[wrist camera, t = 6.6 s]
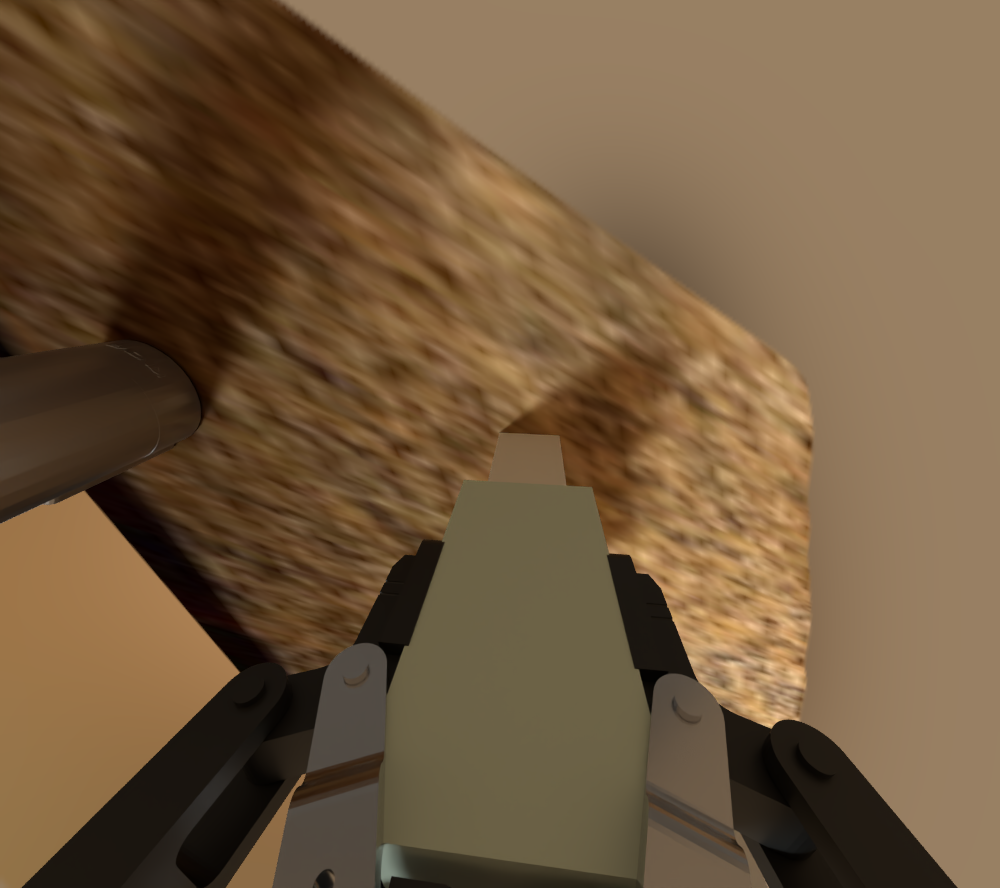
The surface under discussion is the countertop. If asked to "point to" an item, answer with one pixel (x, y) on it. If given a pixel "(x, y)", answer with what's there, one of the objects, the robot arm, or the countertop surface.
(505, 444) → the tile
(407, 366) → the countertop surface
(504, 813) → the sage tile
